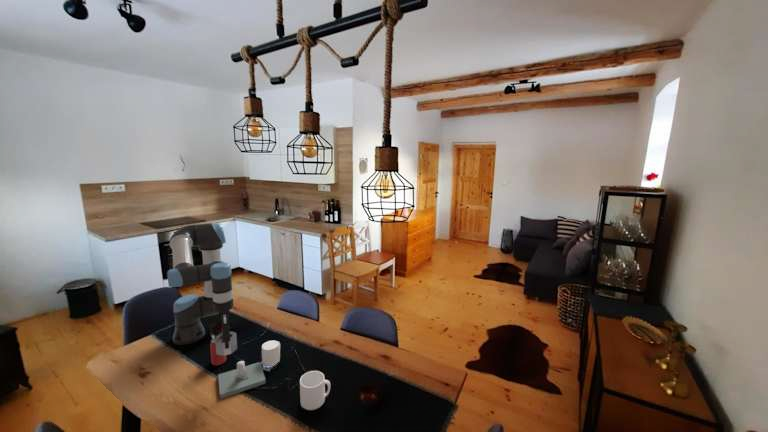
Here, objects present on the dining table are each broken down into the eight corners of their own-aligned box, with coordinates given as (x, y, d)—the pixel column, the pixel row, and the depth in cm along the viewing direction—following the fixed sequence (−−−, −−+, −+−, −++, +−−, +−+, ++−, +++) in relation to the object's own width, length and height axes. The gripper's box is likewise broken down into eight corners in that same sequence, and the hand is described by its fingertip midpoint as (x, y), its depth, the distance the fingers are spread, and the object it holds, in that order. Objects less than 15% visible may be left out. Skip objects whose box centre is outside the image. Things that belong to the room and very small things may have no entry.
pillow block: (218, 378, 137) (216, 360, 136) (260, 365, 147) (259, 348, 145) (220, 399, 126) (218, 379, 124) (265, 383, 135) (264, 365, 133)
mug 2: (271, 352, 142) (257, 349, 144) (272, 369, 144) (258, 366, 146) (285, 338, 154) (271, 335, 156) (286, 354, 155) (272, 352, 157)
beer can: (220, 367, 145) (218, 344, 143) (208, 365, 146) (206, 342, 144) (229, 358, 151) (227, 336, 149) (218, 356, 153) (216, 335, 150)
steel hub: (216, 347, 132) (215, 334, 131) (236, 342, 136) (235, 329, 135) (216, 357, 125) (215, 344, 124) (237, 351, 129) (236, 338, 128)
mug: (296, 409, 121) (295, 386, 119) (305, 390, 131) (304, 369, 129) (327, 412, 120) (326, 389, 118) (333, 393, 130) (333, 372, 128)
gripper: (212, 292, 134) (216, 339, 138) (213, 312, 116) (217, 365, 120) (231, 289, 138) (234, 334, 141) (234, 308, 120) (238, 359, 124)
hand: (227, 348), depth 131 cm, fingers closed on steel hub, 8 cm apart
